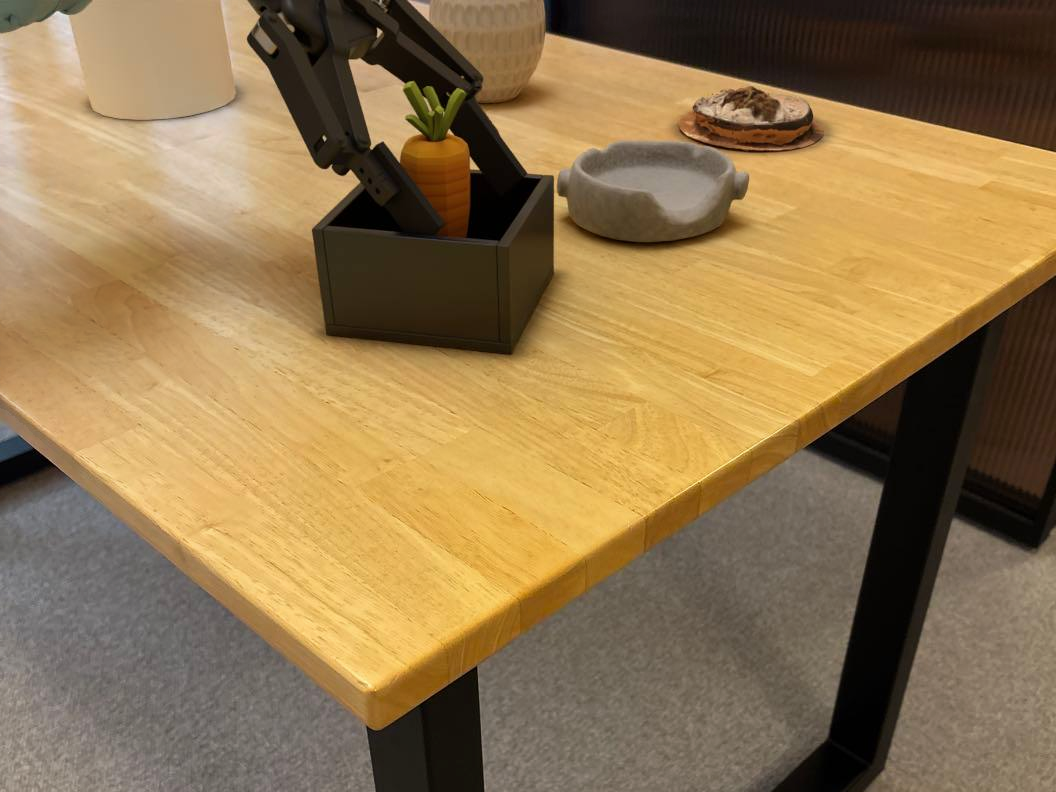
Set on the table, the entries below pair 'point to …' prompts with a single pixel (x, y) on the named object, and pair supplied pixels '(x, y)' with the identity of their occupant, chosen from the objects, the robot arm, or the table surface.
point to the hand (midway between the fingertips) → (474, 210)
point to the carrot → (439, 158)
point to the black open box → (438, 269)
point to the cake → (752, 121)
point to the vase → (494, 40)
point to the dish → (651, 190)
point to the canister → (154, 57)
